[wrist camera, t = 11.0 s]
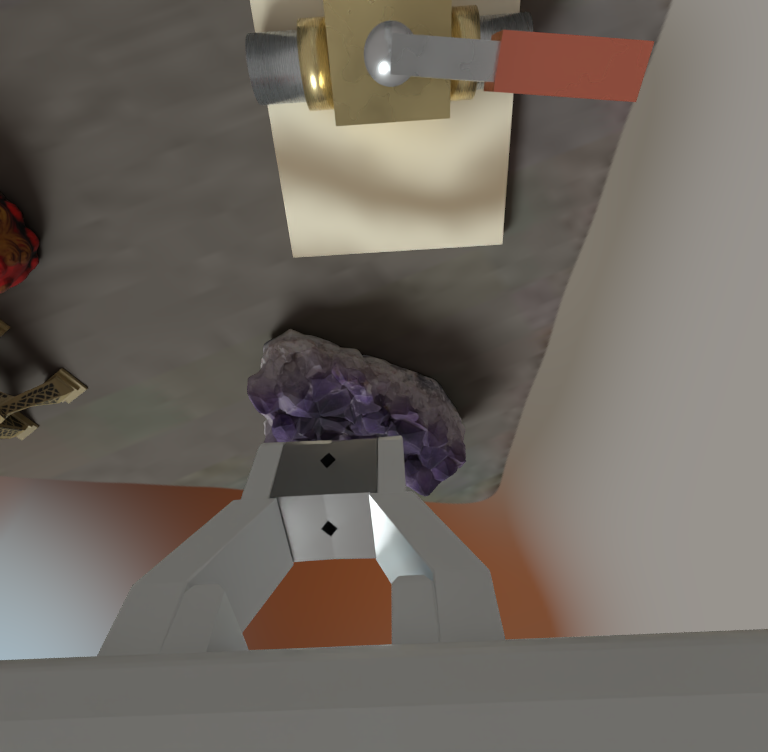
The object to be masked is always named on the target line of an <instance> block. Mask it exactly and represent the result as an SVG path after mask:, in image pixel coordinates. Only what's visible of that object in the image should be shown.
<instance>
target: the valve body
mask: <svg viewBox="0 0 768 752" xmlns="http://www.w3.org/2000/svg"><path fill="white" fill-rule="evenodd" d="M323 6H324V15H325V16H322V17H309V18H298V20H297V30H285V31H271V32H258V33H248V34H247V35H246V58H247V65H248V71H249V76H250V80H251V84H252V88H253V91H254V94H255V97H256V99H257V101H258V103H259V104H260V105H272V104H286V103H300V102H307V106H308V108H309V110H310V111H319V110H333V109H334V112H335V122H336V126H348V125H362V124H376V123H391V122H405V121H419V120H433V119H447V118H450V101H459V100H472V99H473V98H474V96H475V92H476V90H480V89H484V83H485V82H477V81H463V80H449V79H435V78H421V77H410V78H409V79H408V80H407V81H406V82H404V83H403V84H401V85H398V86H394V87H388V86H383V85H381V84H379V83H377V82H376V81H375V80H374V79H373V78H372V77H371V76H370V74H369V73H368V71H367V68H366V66H365V62H364V46H365V42H366V39H367V37H368V35H369V33H370V32H371V31H372V29H373V28H374V27H375V26H377V25H378V24H380V23H382V22H384V21H389V20H393V21H398V22H401V23H403V24H404V25H406V26H407V27H408V28H409V29H410V30H411V32H412V33H413V34H414V35H427V36H440V37H454V38H467V39H480V40H491V36H492V35H493V34H495V33H497V32H499V31H501V30H514V31H527V32H533V21H532V17H531V14H530V13H529V12H521V13H508V14H494V15H481V16H479V11H478V7H477V5H465V6H452V0H323Z"/></svg>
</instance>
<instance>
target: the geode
mask: <svg viewBox="0 0 768 752" xmlns="http://www.w3.org/2000/svg"><path fill="white" fill-rule="evenodd" d="M263 352H264V355H263V357H262V360H261V369H260V371H259V372H258V373H256V374H254V375H252V376H250V377H249V378H248V386H247V394H248V396H249V399H250V400H251V402H252V403H253V405H254V407H255V409H256V410H257V411H258V412H259V413H261V414H262V415H264V416H265V417H266V420H265V422H264V426H265V428H264V434H265V436H266V438H265V441H264V442H263V443H274V442H295V441H328V440H349V439H366V438H379V437H387V436H402V438H403V450H404V466H405V482H406V486H408V487H410V488H412V489H413V490H415V491H416V492H417V493H419V494H420V495H423V496H428V495H430V493H431V492H432V491H433V490H434V489H435V488H436V487H437V485H438V484H439V483H440V482H442V481H444V480H445V479H447V478H448V477H450V476H451V475H453V474H454V473H455V472H456V471H457V468H460V467H461V466H462V465H463V464H464V463H465V462H466V460H465V459H466V453H465V444H464V443H463V440H464V434H465V427H464V425H463V424H462V423H461V418H460V417H459V414H458V411H457V408H456V407H455V405H454V404H453V403H452V401H451V400H450V399H449V397H448V396H447V395H446V393H445V392H444V390H443V388H442V386H441V385H440V384H439V383H438V382H437V381H436V380H435V379H432V378H430V377H426V376H423V375H421V374H419V373H417V372H414V371H411V370H408V369H405V368H402V367H399V366H396V365H393V364H390V363H388V362H387V361H385V360H383V359H378V358H375V357H372V356H369V355H361V353H360V352H359V351H358V350H357V349H353V348H343V347H339V346H338V345H336V344H335V343H332V342H330V341H327V340H324V339H321V338H318V337H315V336H312V335H304V334H302V333H299V332H297V331H295V330H292V329H289V330H287V331H286V332H284V333H283V334H281V335H280V336H278V337H276V338H273V339H271V340H269V341H268V342H266V343H265V344H264V347H263Z"/></svg>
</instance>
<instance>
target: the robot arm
mask: <svg viewBox="0 0 768 752" xmlns="http://www.w3.org/2000/svg"><path fill="white" fill-rule="evenodd" d="M351 558H352V559H354V558H376V560H377V561H378V563H379V565H380V566H381V568H382V569H383V571H384V573H385V574H386V576H387V577H388V579H389V580H390V582H391V584H392V645H370V646H369V645H368V646H345V647H323V648H322V647H321V648H298V649H297V648H296V649H270V650H248V647H247V645H246V642H245V640H244V637H243V635H242V632H243V631H244V629H245V628H246V627H247V626H248V624H249V623H250V622H251V620H252V619H253V618H254V616H255V615H256V614H257V612H258V611H259V610H260V608H261V607H262V606H263V604H264V603H265V602H266V600H267V599H268V598H269V596H270V595H271V594H272V592H273V591H274V590H275V588H276V587H277V586H278V584H279V583H280V582H281V580H282V579H283V578H284V577H285V575H286V574H287V573H288V571H289V570H290V569H291V567H292V566H293V562H299V561H312V560H326V559H351ZM0 752H768V629H759V630H734V631H709V632H684V633H660V634H637V635H635V634H634V635H610V636H586V637H562V638H537V639H513V640H512V639H511V640H505V636H504V632H503V627H502V623H501V619H500V614H499V610H498V605H497V601H496V596H495V592H494V588H493V583H492V579H491V574H490V570H489V569H488V568H487V567H486V566H485V565H484V564H483V563H482V562H481V561H480V560H479V559H478V558H477V557H476V556H475V555H474V554H473V553H472V552H471V551H470V550H469V548H468V547H467V546H466V545H465V544H464V543H463V542H462V541H461V540H460V539H459V538H458V537H457V536H456V535H455V534H454V533H453V532H452V531H451V530H450V529H449V528H448V527H447V526H446V525H445V524H444V523H443V522H442V521H441V520H440V518H439V517H437V515H436V514H434V512H433V511H432V510H431V509H430V508H429V507H428V506H427V505H426V504H425V503H424V502H423V501H422V500H421V499H420V498H419V497H418V496H417V495H416V494H415V493H414V492H413V491H411V492H406V482H405V466H404V450H403V438H402V436H387V437H379V438H366V439H349V440H328V441H295V442H274V443H262V444H261V445H260V446H259V448H258V450H257V453H256V456H255V459H254V462H253V465H252V468H251V471H250V474H249V477H248V480H247V483H246V486H245V489H244V492H243V494H242V497H241V500H234V501H232V502H231V503H230V504H229V505H227V506H226V507H225V508H224V509H223V510H221V511H220V512H219V513H218V514H217V515H215V516H214V517H213V518H212V519H211V520H210V521H208V522H207V523H206V524H205V525H204V526H203V527H201V528H200V529H199V530H198V531H196V532H195V533H194V534H193V535H192V536H191V537H189V538H188V539H187V540H186V541H185V542H183V543H182V544H181V545H180V546H179V547H177V548H176V549H175V550H174V551H173V552H171V553H170V554H169V555H168V556H167V557H166V558H164V559H163V560H162V561H161V562H160V563H158V564H157V565H156V566H155V567H154V568H153V569H151V570H150V571H149V572H148V573H147V574H145V575H144V576H143V577H142V578H141V579H139V580H138V581H137V582H136V583H135V584H133V585H132V587H131V589H130V591H129V593H128V595H127V597H126V599H125V601H124V603H123V605H122V607H121V609H120V611H119V613H118V615H117V617H116V619H115V621H114V623H113V625H112V627H111V629H110V631H109V633H108V635H107V637H106V639H105V641H104V643H103V645H102V648H101V649H100V651H99V654H98V655H97V656H96V657H71V658H48V659H47V658H45V659H22V660H0Z"/></svg>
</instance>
